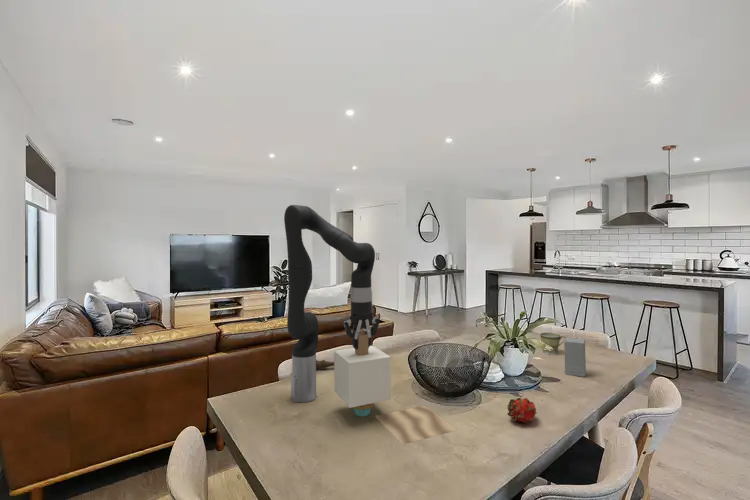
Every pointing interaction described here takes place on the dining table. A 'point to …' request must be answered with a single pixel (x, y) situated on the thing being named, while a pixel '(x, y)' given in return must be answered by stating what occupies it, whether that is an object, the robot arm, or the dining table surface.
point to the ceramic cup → (551, 341)
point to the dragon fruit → (521, 410)
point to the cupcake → (363, 409)
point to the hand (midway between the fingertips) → (361, 348)
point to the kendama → (323, 364)
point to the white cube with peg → (362, 374)
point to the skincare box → (575, 357)
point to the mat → (414, 424)
